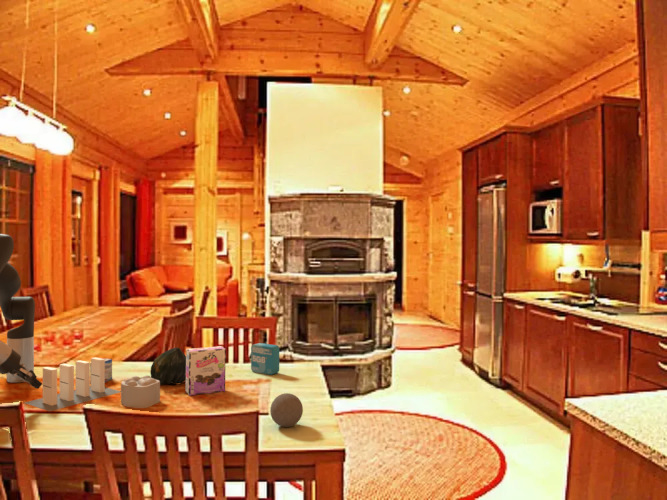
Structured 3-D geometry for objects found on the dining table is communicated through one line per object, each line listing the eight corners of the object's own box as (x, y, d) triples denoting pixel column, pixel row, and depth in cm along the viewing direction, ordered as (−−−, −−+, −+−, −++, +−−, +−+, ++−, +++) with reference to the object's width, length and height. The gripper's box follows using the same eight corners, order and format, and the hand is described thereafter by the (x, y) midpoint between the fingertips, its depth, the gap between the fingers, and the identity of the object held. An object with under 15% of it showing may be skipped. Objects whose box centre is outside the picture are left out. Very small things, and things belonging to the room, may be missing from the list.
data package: (250, 371, 228) (251, 344, 228) (257, 369, 232) (257, 342, 232) (273, 375, 223) (273, 347, 222) (279, 373, 226) (279, 345, 226)
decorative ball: (264, 429, 160) (264, 396, 160) (279, 418, 169) (279, 387, 169) (294, 433, 156) (294, 400, 156) (307, 423, 166) (308, 391, 165)
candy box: (188, 396, 192) (188, 351, 192) (185, 392, 197) (185, 348, 197) (225, 391, 198) (226, 348, 198) (221, 387, 204) (221, 345, 203)
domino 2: (68, 401, 183) (68, 366, 182) (59, 398, 186) (59, 364, 185) (73, 399, 184) (73, 365, 184) (64, 397, 187) (64, 363, 187)
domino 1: (51, 405, 178) (51, 370, 177) (42, 402, 181) (42, 367, 180) (57, 404, 179) (57, 369, 179) (47, 401, 182) (47, 366, 182)
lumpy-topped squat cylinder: (144, 409, 177) (144, 383, 177) (113, 404, 181) (113, 379, 181) (163, 400, 187) (163, 376, 187) (133, 396, 191) (134, 372, 191)
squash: (141, 368, 210) (155, 343, 204) (174, 363, 221) (189, 340, 215) (153, 397, 203) (168, 373, 196) (187, 391, 214) (202, 367, 207)
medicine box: (100, 385, 204) (100, 363, 204) (89, 384, 205) (89, 362, 205) (112, 380, 212) (112, 358, 212) (102, 379, 213) (102, 358, 213)
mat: (23, 404, 180) (23, 402, 180) (95, 386, 203) (95, 384, 203) (49, 412, 172) (50, 411, 172) (122, 392, 195) (121, 391, 195)
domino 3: (84, 396, 188) (84, 363, 188) (75, 394, 191) (75, 361, 190) (89, 395, 189) (89, 362, 189) (80, 392, 192) (80, 360, 192)
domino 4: (100, 392, 193) (100, 360, 193) (90, 390, 196) (90, 358, 196) (104, 391, 194) (104, 359, 194) (95, 389, 197) (95, 357, 197)
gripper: (20, 349, 165) (58, 379, 175) (-2, 344, 172) (36, 373, 182) (2, 369, 160) (42, 399, 171) (-20, 363, 167) (20, 392, 178)
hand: (39, 386), depth 177 cm, fingers closed
